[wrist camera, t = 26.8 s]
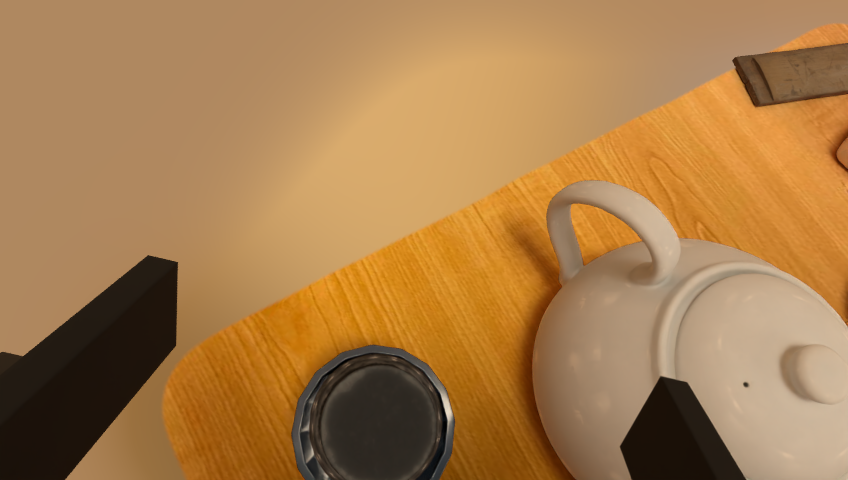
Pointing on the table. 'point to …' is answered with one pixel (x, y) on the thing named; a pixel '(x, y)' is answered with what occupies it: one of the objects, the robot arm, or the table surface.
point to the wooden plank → (795, 74)
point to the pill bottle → (375, 420)
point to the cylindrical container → (300, 430)
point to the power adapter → (843, 153)
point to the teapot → (687, 347)
